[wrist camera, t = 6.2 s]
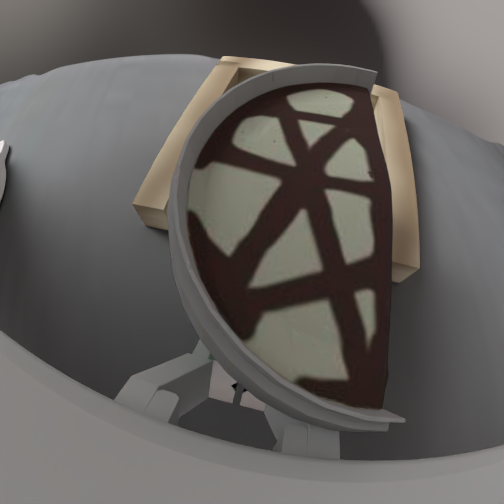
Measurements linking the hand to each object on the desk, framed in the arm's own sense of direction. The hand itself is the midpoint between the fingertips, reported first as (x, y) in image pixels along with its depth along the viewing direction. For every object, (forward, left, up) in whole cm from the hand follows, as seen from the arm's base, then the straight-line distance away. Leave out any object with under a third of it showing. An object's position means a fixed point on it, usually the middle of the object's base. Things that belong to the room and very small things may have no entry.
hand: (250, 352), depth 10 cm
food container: (0, +4, -5) cm, 6 cm away
